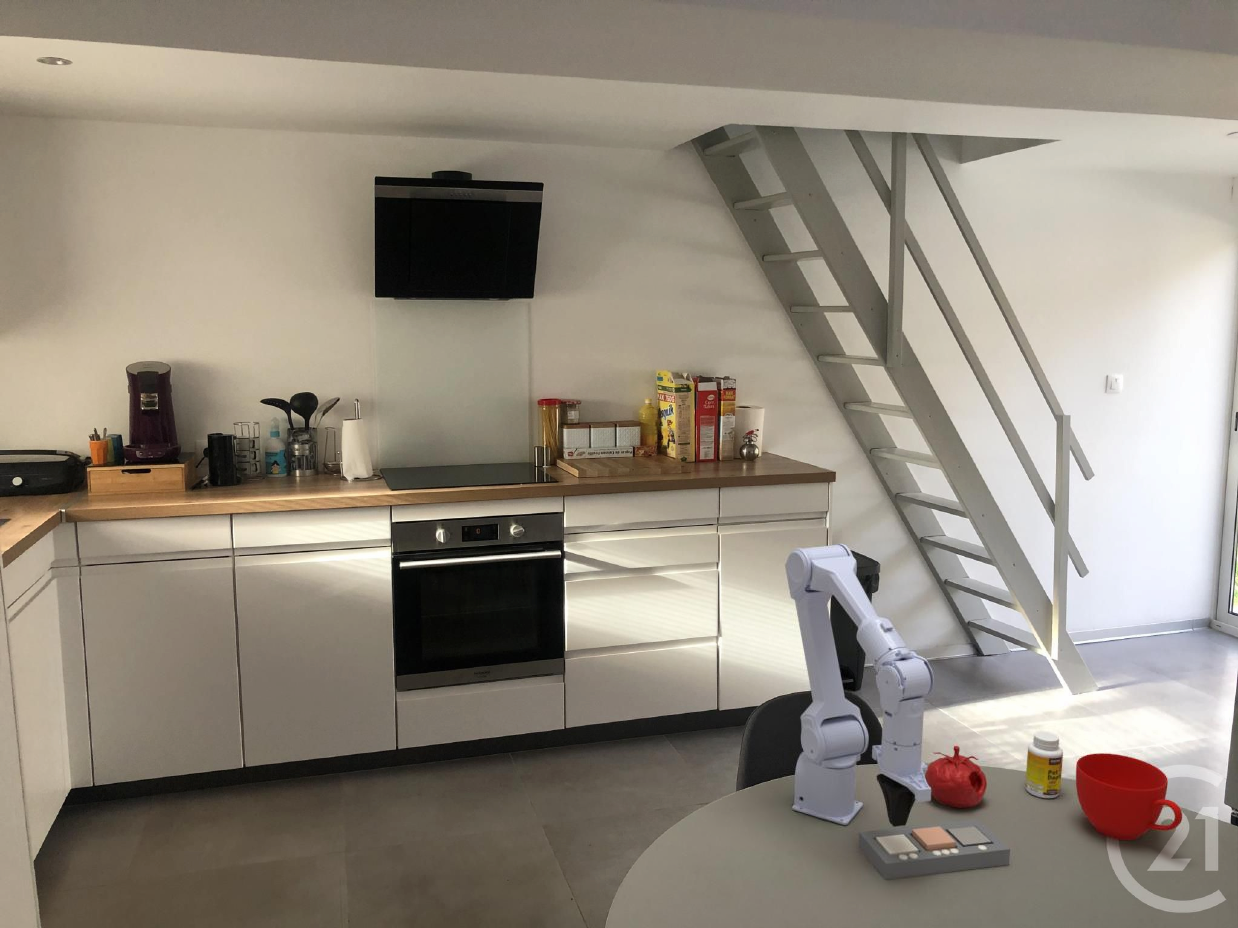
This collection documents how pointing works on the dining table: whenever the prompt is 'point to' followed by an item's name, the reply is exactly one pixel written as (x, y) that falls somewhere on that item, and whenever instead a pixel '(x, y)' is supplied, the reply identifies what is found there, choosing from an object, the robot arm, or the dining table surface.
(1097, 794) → the ceramic cup
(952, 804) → the red hollow rounded sculpture
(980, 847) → the button panel
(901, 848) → the button two dot
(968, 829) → the button one dot
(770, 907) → the dining table surface
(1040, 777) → the supplement bottle
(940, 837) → the button three dot
